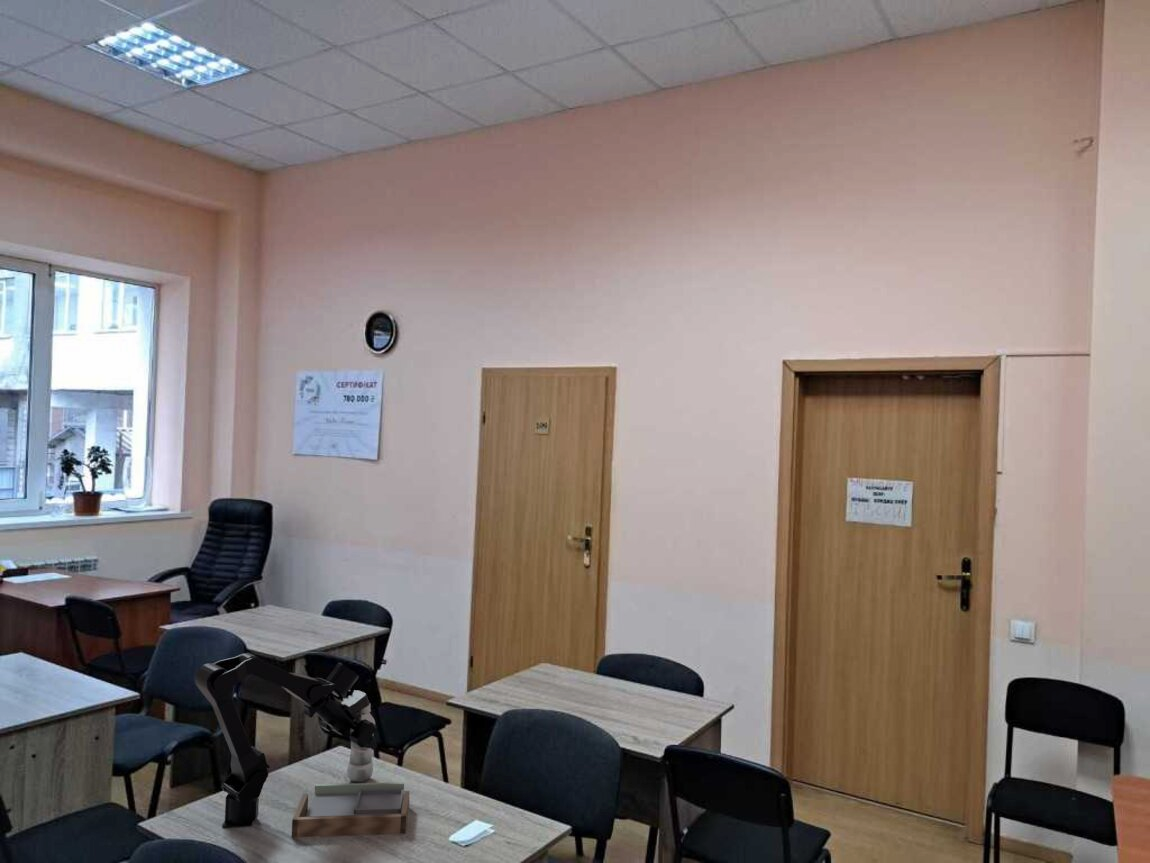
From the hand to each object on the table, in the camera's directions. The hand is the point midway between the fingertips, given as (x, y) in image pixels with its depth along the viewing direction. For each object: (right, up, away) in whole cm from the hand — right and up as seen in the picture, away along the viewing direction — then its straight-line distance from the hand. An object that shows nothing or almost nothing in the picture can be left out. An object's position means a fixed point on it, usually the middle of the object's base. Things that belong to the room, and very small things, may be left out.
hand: (365, 742), depth 214 cm
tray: (+2, -10, -17) cm, 19 cm away
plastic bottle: (-1, -10, -1) cm, 10 cm away
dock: (+3, -10, -24) cm, 26 cm away
